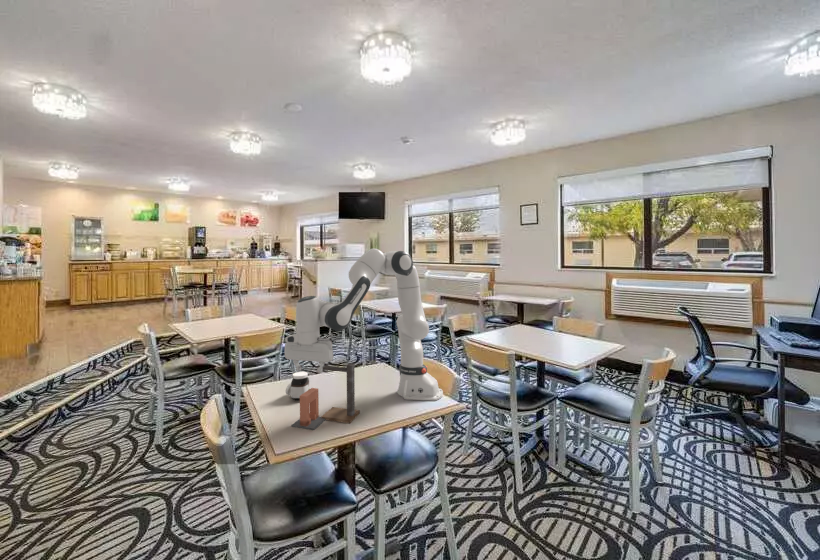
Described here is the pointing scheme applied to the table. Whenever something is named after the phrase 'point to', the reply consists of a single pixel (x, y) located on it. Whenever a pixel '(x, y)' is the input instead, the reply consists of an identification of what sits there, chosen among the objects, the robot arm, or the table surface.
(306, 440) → the table surface
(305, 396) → the link
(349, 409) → the stand
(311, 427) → the coaster
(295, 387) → the spread jar
